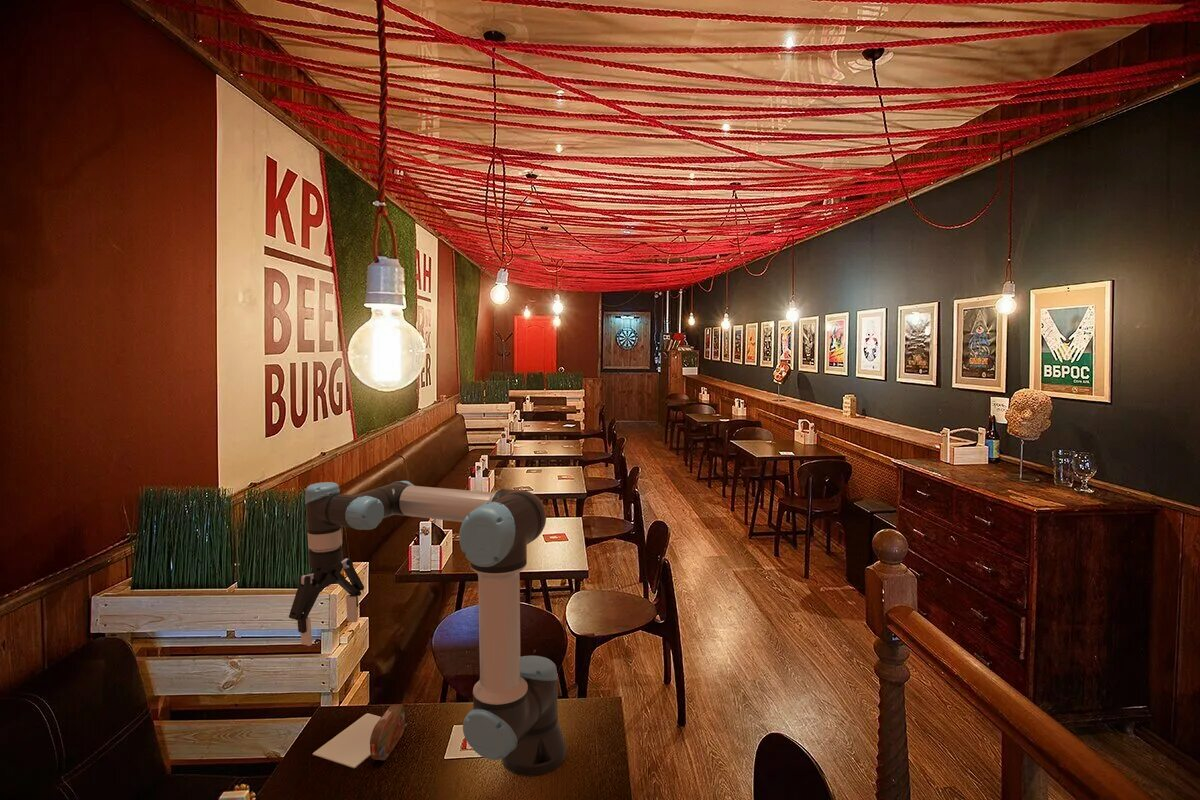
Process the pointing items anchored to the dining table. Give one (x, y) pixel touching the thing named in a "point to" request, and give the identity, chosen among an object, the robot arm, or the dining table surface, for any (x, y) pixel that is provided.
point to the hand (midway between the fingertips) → (330, 632)
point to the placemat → (351, 743)
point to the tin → (388, 731)
